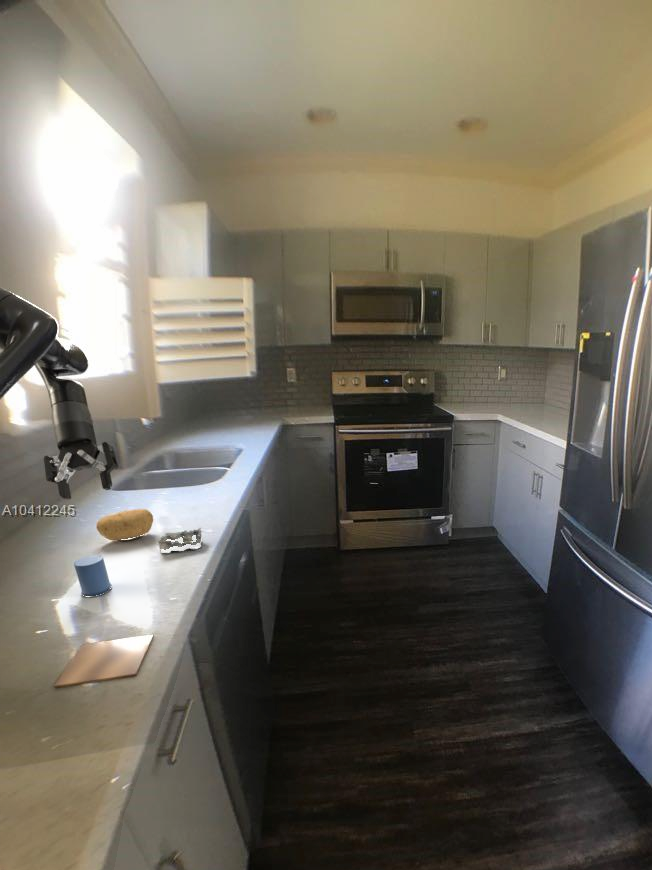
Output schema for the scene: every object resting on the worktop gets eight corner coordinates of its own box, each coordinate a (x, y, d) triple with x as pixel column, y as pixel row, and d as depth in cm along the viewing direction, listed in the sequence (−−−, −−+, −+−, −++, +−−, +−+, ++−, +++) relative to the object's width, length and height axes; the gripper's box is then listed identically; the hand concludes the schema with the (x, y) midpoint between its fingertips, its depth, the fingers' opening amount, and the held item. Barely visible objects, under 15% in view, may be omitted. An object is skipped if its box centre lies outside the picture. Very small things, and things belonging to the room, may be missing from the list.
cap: (77, 599, 98) (68, 567, 96) (87, 586, 103) (79, 556, 101) (106, 595, 99) (98, 564, 97) (115, 582, 105) (107, 553, 102)
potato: (101, 538, 130) (94, 512, 127) (155, 528, 136) (150, 503, 133) (99, 551, 122) (92, 523, 119) (157, 539, 127) (151, 513, 125)
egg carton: (158, 556, 118) (154, 541, 116) (163, 544, 124) (160, 530, 123) (202, 550, 120) (199, 536, 119) (204, 539, 127) (202, 525, 125)
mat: (54, 687, 72) (54, 685, 72) (82, 646, 82) (82, 644, 82) (136, 675, 74) (135, 673, 74) (153, 636, 85) (153, 634, 84)
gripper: (29, 428, 99) (42, 499, 97) (97, 412, 101) (111, 482, 99) (51, 439, 106) (64, 505, 104) (114, 424, 108) (128, 489, 106)
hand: (87, 494), depth 101 cm, fingers open, 8 cm apart
